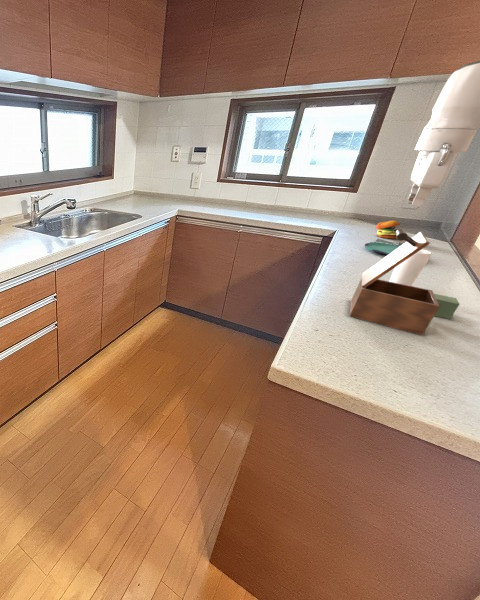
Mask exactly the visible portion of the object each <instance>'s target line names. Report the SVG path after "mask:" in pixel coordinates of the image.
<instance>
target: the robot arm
mask: <svg viewBox="0 0 480 600" xmlns="http://www.w3.org/2000/svg"><path fill="white" fill-rule="evenodd" d="M479 128H480V60H477V61H474V62H473V61H472V62H470V63H467V64H465V65H463V66H460V67H459V68H457V69H456V70H454V71H453V72H452V74H451V75H450V76H449V77H448V78H447V80H446V82H445V83H444V86H443V87H442V89H441V91H440V93H439V95H438V97H437V99H436V101H435V103H434V104H433V107H432V113H431V116H430V119H429V121H428V122H427V123H426V125H425V126H424V127H423V130H422V132H421V134H420V137H419V138H418V140H417V143H416V145H415V147H414V151H418V155H417V157H416V160H415V162H414V166H413V169H412V172H411V176H410V181H411V182H412V183H413V184H412V186H411V189H410V193H409V196H408V197H407V200H408V201H409V202H411V206H412V207H419V208H420V207H423V204H424V202H425V201H426V199H427V198H428V196H429V195H430V194H431V191H432V190H433V189H439V188H440V187H441V186H442V184H443V183H444V181H445V179H446V176H447V174H448V172H449V170H450V168H451V167H452V164H453V161H454V160H455V159H456V156H457V155H458V153H466V152H468V151H467V150H468V148H469V147H470V145H471V143H472V142H473V139H474V137H475V135H476V133H477V131H478V130H479Z"/></svg>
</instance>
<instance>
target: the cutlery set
mask: <svg viewBox="0 0 480 600" xmlns="http://www.w3.org/2000/svg"><path fill="white" fill-rule="evenodd" d="M403 244H404V243H402V242H394V241H390V240H389V241H388V240H385V239H382V238H376V239H375V241H370V242H366V243H364V247H365V250H367V251H370V252H375V253H378V254H382V255H386V256H387V255H389V254H390V253H391V252H393V251H394V250H396V249H397V248H398V247H400V246H401V245H403Z"/></svg>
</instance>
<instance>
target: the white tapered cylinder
mask: <svg viewBox="0 0 480 600" xmlns="http://www.w3.org/2000/svg"><path fill="white" fill-rule="evenodd" d="M431 256H432V252H431V251H430V250H426V249H424V248H423V249H421V250H420V251H418V252H417V253H415V254H414V255H412V256H411V257H410V258H408V259H407V260H405V261H404V262H402V263H401V264H399V265H398V266H396V267H395V268H393V269H392V270H393V271H392V273H391V276H390V278H389V280H388V281H389V282H394V283H399V284H404V285H409V286H413V284H414V283H415V281H417V278H418V277H419V275H420V274H421V273H422V271H423V270H424V268H425V267H426V265H427V263H428V262H429V260H430V258H431Z"/></svg>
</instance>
